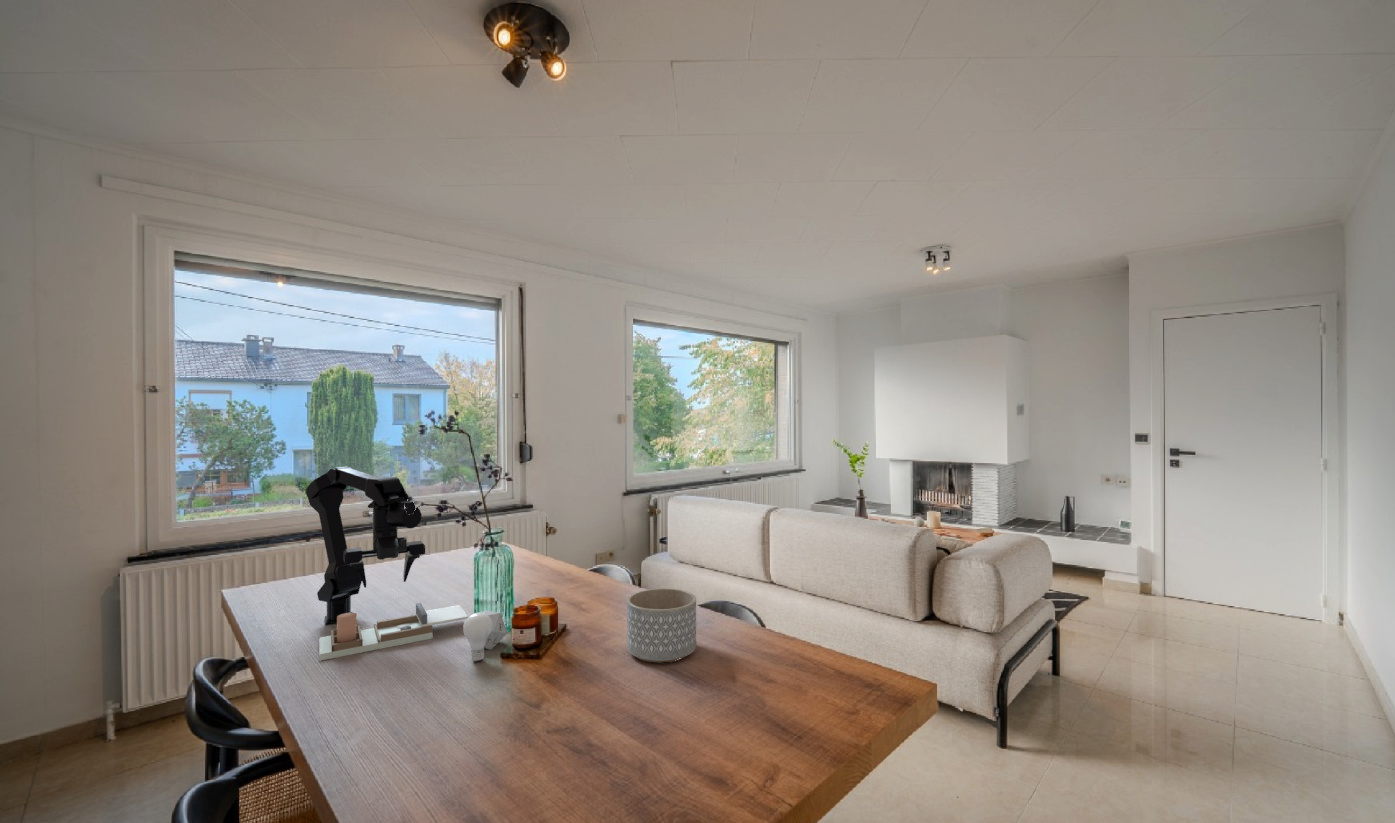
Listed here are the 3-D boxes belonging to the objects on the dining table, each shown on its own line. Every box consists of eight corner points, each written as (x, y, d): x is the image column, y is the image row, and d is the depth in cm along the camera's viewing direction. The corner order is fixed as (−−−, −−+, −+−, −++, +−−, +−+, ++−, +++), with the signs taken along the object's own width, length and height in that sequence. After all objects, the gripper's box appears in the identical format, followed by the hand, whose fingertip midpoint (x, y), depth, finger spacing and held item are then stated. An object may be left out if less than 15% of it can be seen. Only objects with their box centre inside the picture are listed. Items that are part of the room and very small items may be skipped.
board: (319, 643, 142) (319, 631, 142) (425, 624, 156) (425, 612, 156) (319, 660, 132) (319, 647, 132) (432, 638, 146) (432, 626, 146)
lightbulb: (456, 663, 131) (456, 615, 131) (479, 653, 136) (479, 606, 136) (476, 669, 128) (476, 619, 128) (498, 658, 133) (498, 611, 133)
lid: (415, 614, 154) (415, 603, 154) (459, 606, 160) (459, 596, 160) (422, 627, 145) (422, 615, 145) (467, 618, 151) (467, 607, 151)
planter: (665, 673, 126) (665, 615, 126) (613, 654, 136) (612, 600, 136) (709, 648, 139) (709, 596, 139) (658, 633, 149) (658, 584, 149)
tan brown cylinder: (336, 643, 139) (336, 614, 139) (355, 639, 141) (356, 611, 141) (337, 649, 135) (337, 619, 135) (356, 645, 137) (356, 616, 137)
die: (470, 659, 135) (497, 624, 135) (453, 632, 139) (478, 599, 140) (495, 659, 142) (520, 625, 142) (478, 634, 147) (502, 602, 147)
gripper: (345, 534, 140) (345, 598, 140) (428, 526, 150) (428, 585, 150) (343, 527, 149) (343, 587, 149) (422, 520, 160) (422, 576, 159)
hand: (385, 584), depth 152 cm, fingers open, 9 cm apart
